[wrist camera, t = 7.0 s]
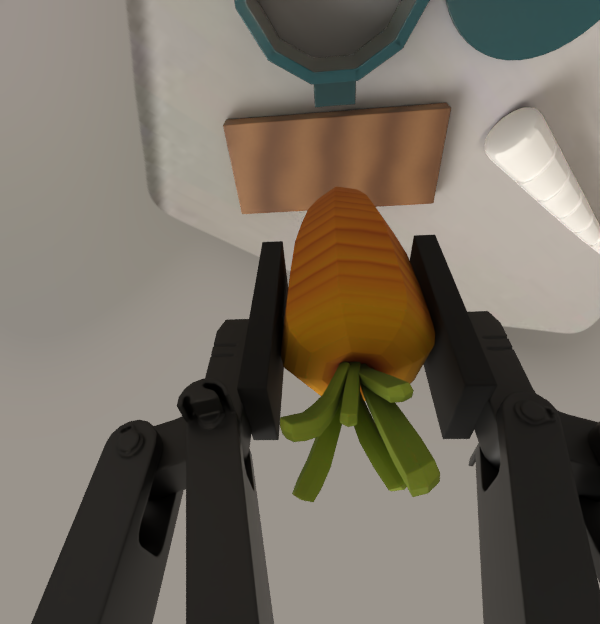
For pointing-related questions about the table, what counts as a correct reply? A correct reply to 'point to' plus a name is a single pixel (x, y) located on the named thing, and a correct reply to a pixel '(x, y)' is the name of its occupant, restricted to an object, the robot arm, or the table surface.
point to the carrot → (356, 342)
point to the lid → (521, 24)
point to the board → (337, 156)
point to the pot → (335, 69)
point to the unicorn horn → (542, 170)
